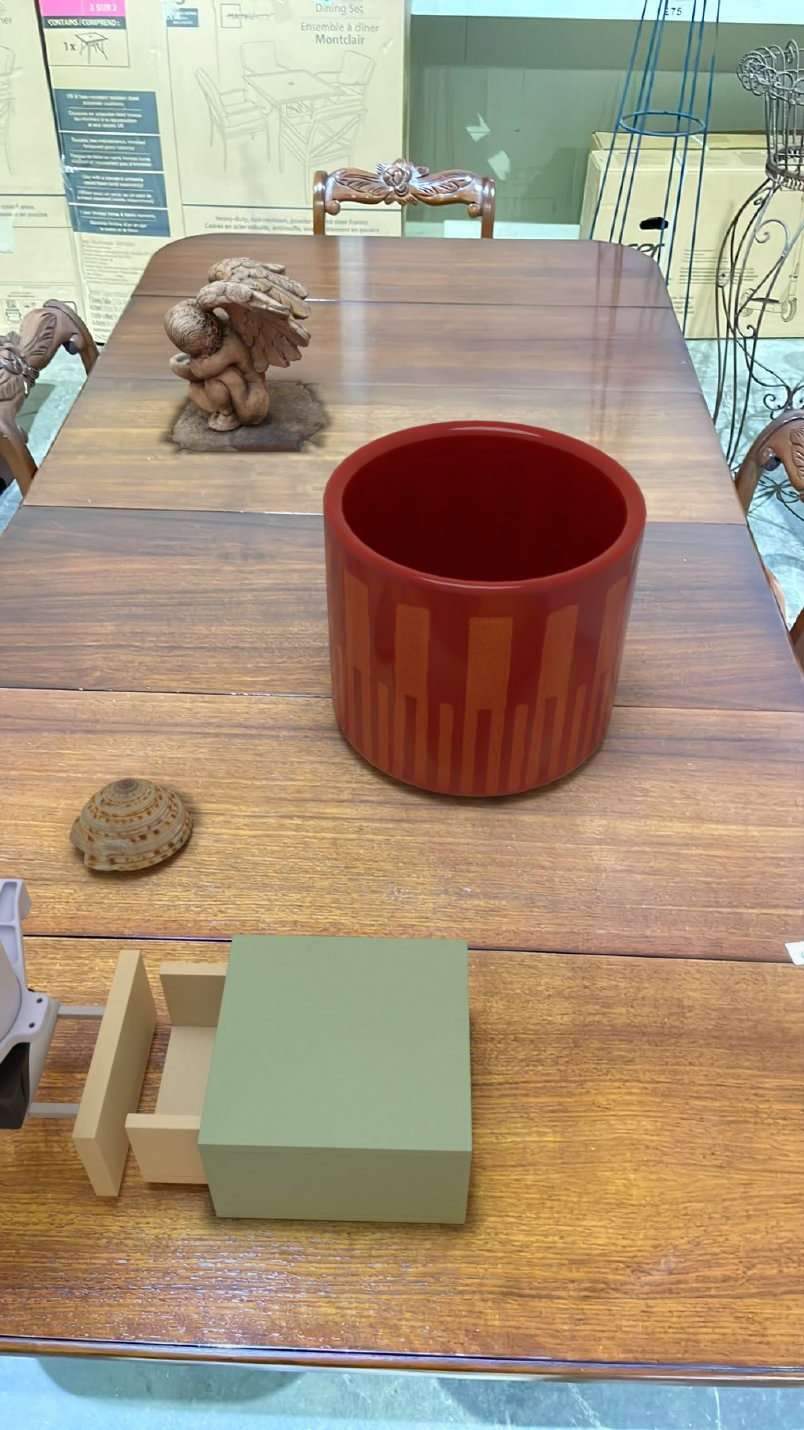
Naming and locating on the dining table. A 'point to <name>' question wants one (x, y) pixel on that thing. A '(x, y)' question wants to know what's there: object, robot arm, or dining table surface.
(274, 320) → the cherub figurine
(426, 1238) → the dining table surface
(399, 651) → the planter
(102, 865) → the seashell
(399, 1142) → the cabinet
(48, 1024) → the drawer
